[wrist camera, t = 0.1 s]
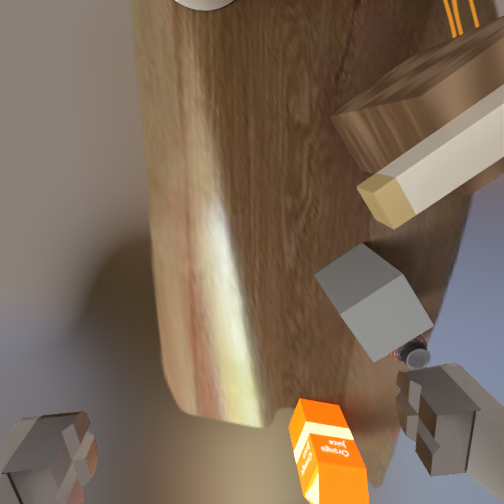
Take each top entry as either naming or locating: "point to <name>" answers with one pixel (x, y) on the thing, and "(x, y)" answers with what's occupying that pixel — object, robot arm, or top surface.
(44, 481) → the robot arm
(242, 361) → the top surface
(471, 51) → the walnut post
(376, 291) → the grey block
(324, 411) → the orange juice
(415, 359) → the supplement bottle
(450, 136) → the cream tan bar
